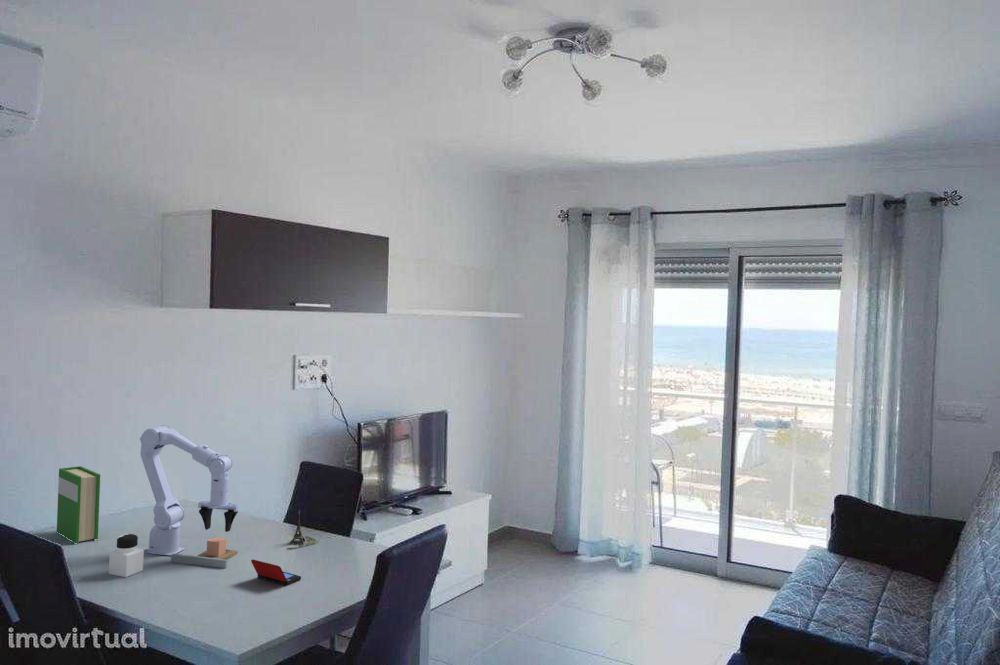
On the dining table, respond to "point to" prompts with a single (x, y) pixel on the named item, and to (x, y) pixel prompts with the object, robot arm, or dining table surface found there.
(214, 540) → the terracotta block
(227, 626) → the dining table surface
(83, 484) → the hardback book
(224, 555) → the walnut pad
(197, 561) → the low wall
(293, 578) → the handheld game console
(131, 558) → the medicine bottle
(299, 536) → the eiffel tower figurine
